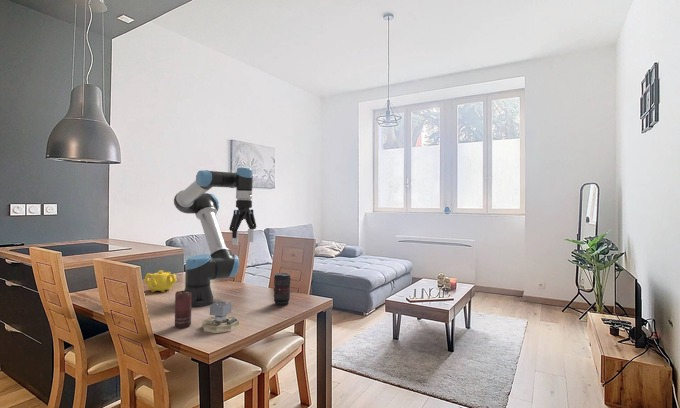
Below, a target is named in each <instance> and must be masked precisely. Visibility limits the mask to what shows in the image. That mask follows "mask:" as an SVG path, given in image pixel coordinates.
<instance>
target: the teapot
mask: <svg viewBox="0 0 680 408" xmlns="http://www.w3.org/2000/svg"><path fill="white" fill-rule="evenodd" d="M177 281H178V279H177V275H176V273H173V274H172V273H171V271H166V272H164V270H158V271H157V272H155V273H150V272H148V273H146V275H145V277H144V280H143V282H145V284H147V288H148V289H149V290H150V292H151V293H155V292H157V291H159V292H160V293H161V292H162V293H165V292H166V291H170V289H171V288H172V287H173V286H174V285H175V283H177Z"/></svg>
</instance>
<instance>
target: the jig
mask: <svg viewBox="0 0 680 408" xmlns="http://www.w3.org/2000/svg"><path fill="white" fill-rule="evenodd" d="M201 323H202V324H201V325H202V326H201V327H202V329H203V332H205V333H213V334H220V333H226V332H232V331H233V330H235V329H237V328H238V327H240V320H239V318H238V317H237V316H234V315H229V314H227V315H226V323H221V324H217V323H215V316H214V315H213V316H209V317H208V318H205V319H204V320H202V321H201Z"/></svg>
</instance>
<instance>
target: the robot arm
mask: <svg viewBox="0 0 680 408" xmlns="http://www.w3.org/2000/svg"><path fill="white" fill-rule="evenodd" d="M253 174H254V173H253V169H252V168H251V167H237V168H236V172H231V171H227V172H226V171H215V170H203V169H202V170H199V171H197V173H196V175H195V180H194V181H193V182H192V183H191V184H190V185H188V186H187V187H186V188H185V189H184V190H180V191H178V192H177V193H176V194H175V196H174V198H173V204H174V206H175V208H176V209H177V210H178V211H180V212H181V213H183V214H190V215H191V214H195V217H196V219H197V220H199V221H200V223H201V224H200V225H201V226H202V230H203V233H204V237H205V239H206V243H207V245H208V246H207V247H208V249H209V252H210V254H208V253H207V254H205V253H203V254H195V255H191V256H189V257H188V258H187V259H186V261H185V267H184V269H185V270H184V271H185V275H184V276H185V277H184V279H185V280H184V281H185V282H184V287H185V288H184V290H183V291H191V294H192V296H191V308H192V307H193V308H194V307H204V306H208V305H211V304H213V303H214V299H215V298H214V295H213V291H212V288H211V281H212V280H219V279H229V278H233V277H235V276H236V275H237V274H238V272H239V267H240V260H239V259H240V258H239V256H238V255H237V254H233V253H232V250H231V249H230V248H227V244H226V241H225V239H224V236H223V233H222V230H221V227H220V224H219V221H218V218H217V213H218V211H219V209H220V208H219V207H220V205H219V203H220V202H219V200H218V197H217V196H216V195H215V194H213V193H207V192H208V191H209V190H211V189H212V188H214V187H215V188H228V189H229V188H231V189H236V190H235V192H236V193H235V199H237V200H235V207H236V209H234V210H233V215H232V219H231V220H230V225H229V229H228V230H230V232H232V233H231V234H232V237H231V238H232V239H231V241H232V243H231V244H232V246H239V228H240V226H241V223H242V221H244V220H245V222H246V224H247V227H248V228H247V242H248V243H254V234H255V233H254V230H256V229H257V223H256V218H255V215H254V209H252V207H253V201H252V199H253V181H254V179H253V178H254V175H253Z"/></svg>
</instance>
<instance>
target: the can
mask: <svg viewBox="0 0 680 408" xmlns="http://www.w3.org/2000/svg"><path fill="white" fill-rule="evenodd" d="M191 296H192V294H191V291H184V290H179V291H176V292H175V296H174V297H175V299H174V327H175V328H176V329H186V328H189V327H190V326H191V325H192V307H191Z"/></svg>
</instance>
